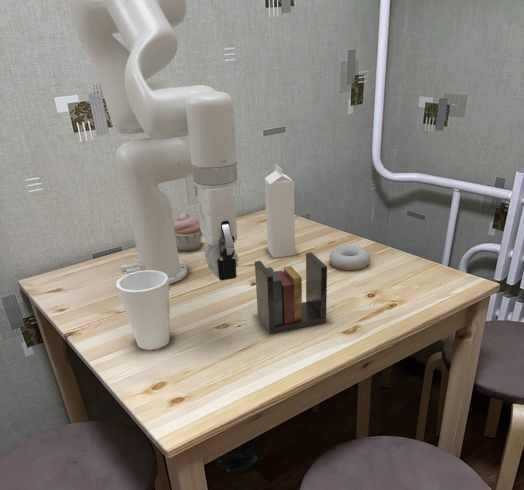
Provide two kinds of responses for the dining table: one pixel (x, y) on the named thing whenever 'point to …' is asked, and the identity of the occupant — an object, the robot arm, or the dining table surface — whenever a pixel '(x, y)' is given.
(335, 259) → the donut
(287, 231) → the milk
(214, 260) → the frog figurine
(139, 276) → the foam cup
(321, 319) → the book rack
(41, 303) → the dining table surface
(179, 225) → the cupcake
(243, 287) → the dining table surface
